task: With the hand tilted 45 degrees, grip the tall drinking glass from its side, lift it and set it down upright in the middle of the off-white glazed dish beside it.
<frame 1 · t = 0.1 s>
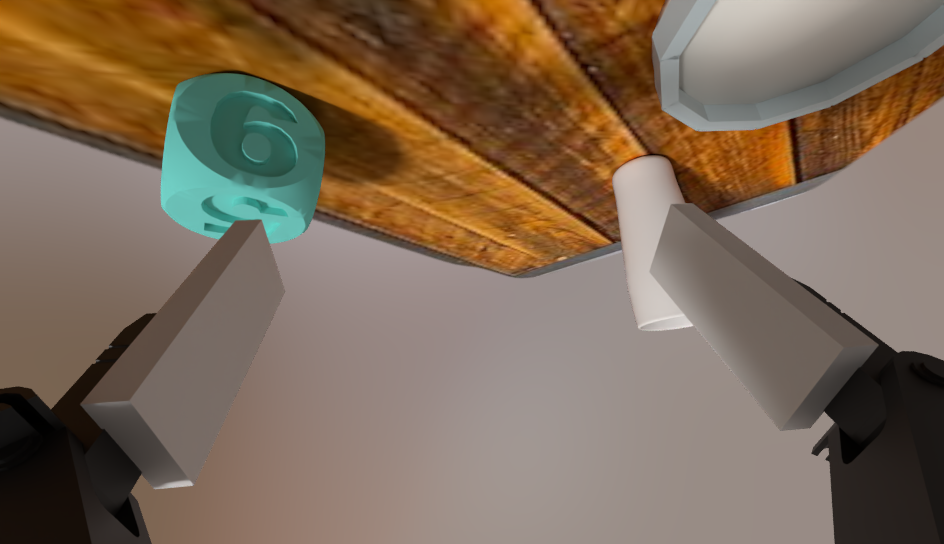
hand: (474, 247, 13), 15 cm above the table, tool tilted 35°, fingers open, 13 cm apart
drinking glass: (639, 167, 38), on the table
decorative dice: (253, 114, 28), on the table
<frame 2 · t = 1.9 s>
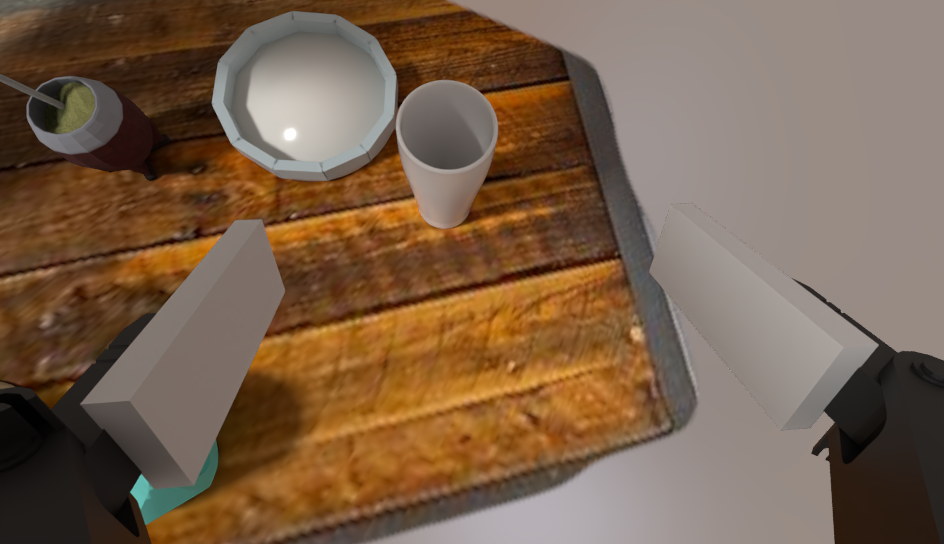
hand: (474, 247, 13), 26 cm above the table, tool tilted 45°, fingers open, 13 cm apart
dish: (314, 104, 41), on the table
drinking glass: (444, 205, 40), on the table
decorative dice: (170, 453, 34), on the table
mate gourd: (135, 155, 39), on the table
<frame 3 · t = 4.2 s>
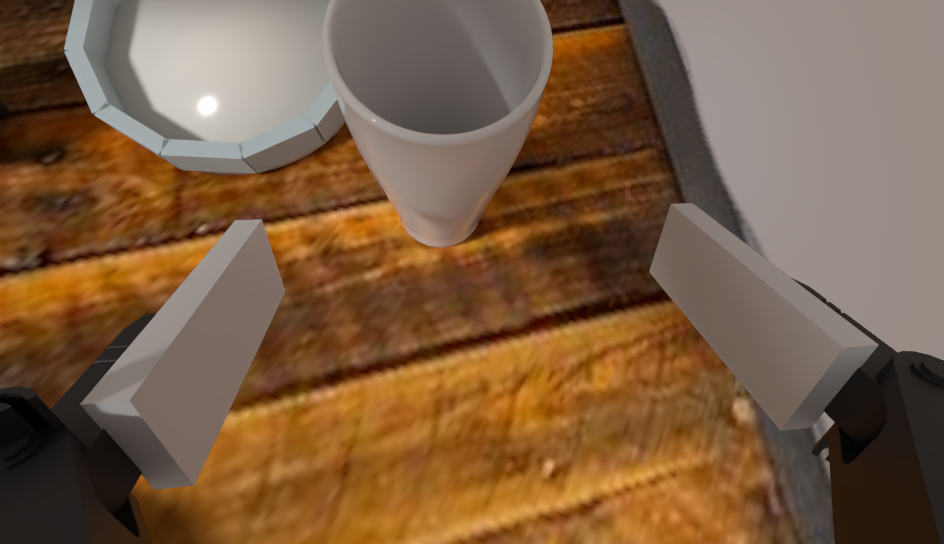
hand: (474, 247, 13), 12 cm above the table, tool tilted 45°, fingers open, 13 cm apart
dish: (240, 56, 27), on the table
drinking glass: (440, 211, 26), on the table
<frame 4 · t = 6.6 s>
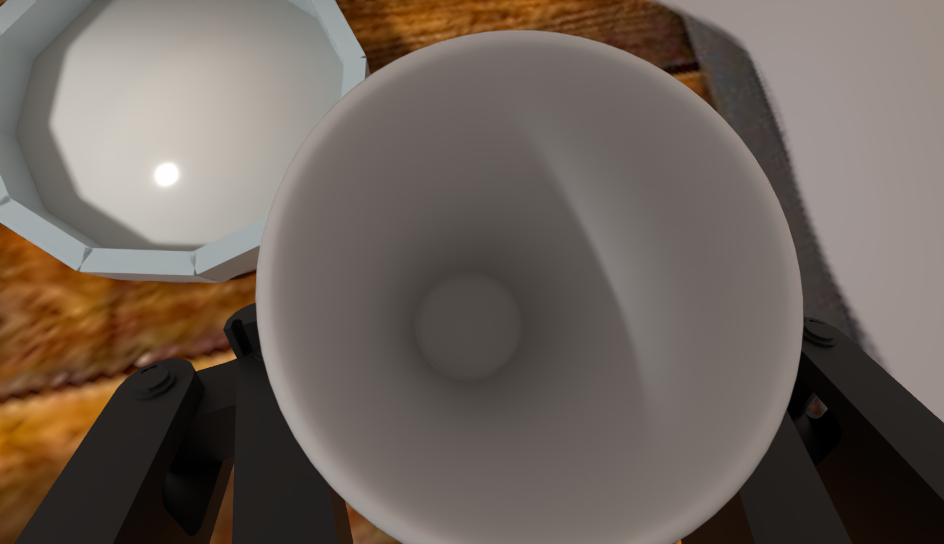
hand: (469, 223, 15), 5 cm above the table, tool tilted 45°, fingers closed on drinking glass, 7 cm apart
dish: (203, 118, 20), on the table
drinking glass: (466, 327, 20), on the table, touching gripper
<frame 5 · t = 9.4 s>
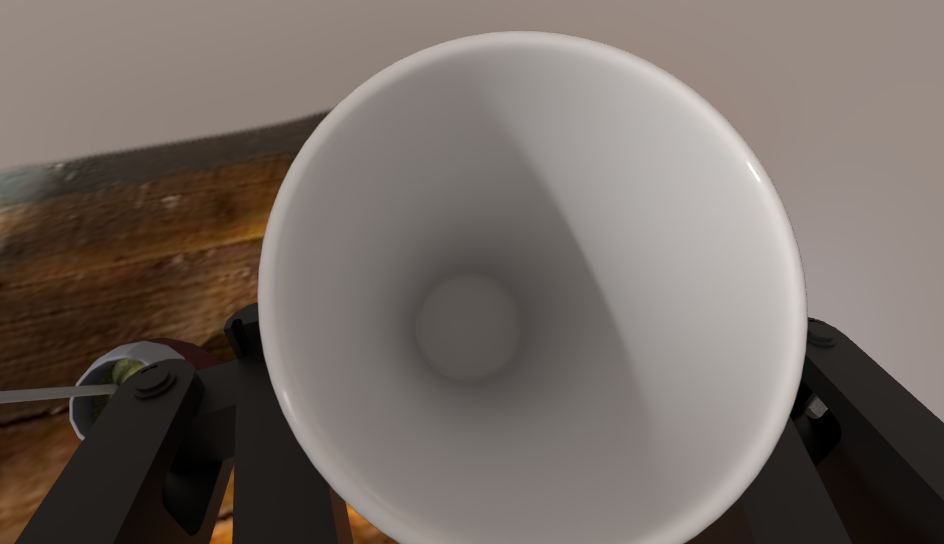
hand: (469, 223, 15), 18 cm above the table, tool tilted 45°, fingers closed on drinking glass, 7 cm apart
drinking glass: (466, 327, 19), point 13 cm above the table, touching gripper
mate gourd: (198, 387, 30), on the table
when the fingers open (8 cm above the table, at t = 12.1 s): drinking glass drops 1 cm, resting on dish.
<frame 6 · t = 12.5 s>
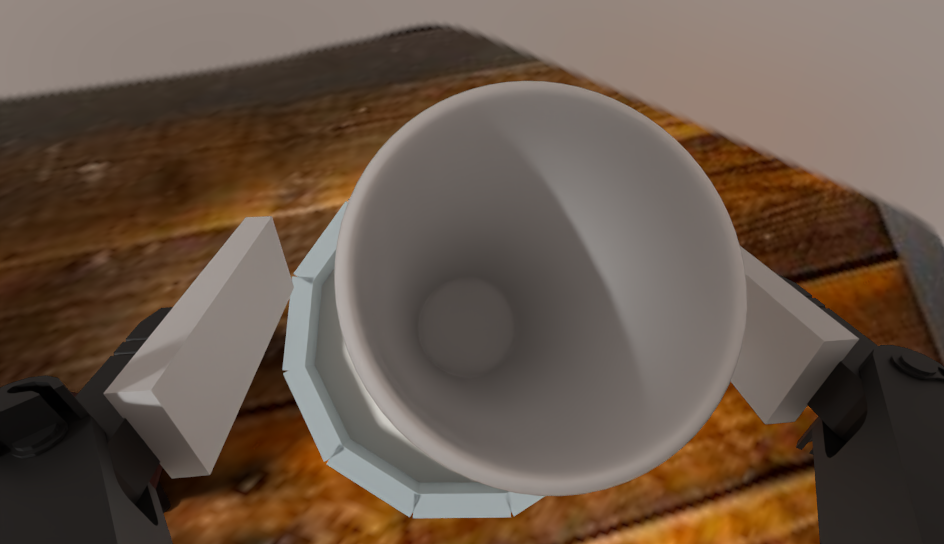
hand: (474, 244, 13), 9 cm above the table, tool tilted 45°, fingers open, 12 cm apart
dish: (463, 328, 22), on the table
drinking glass: (464, 328, 21), point 1 cm above the table, touching dish
mate gourd: (127, 455, 20), on the table
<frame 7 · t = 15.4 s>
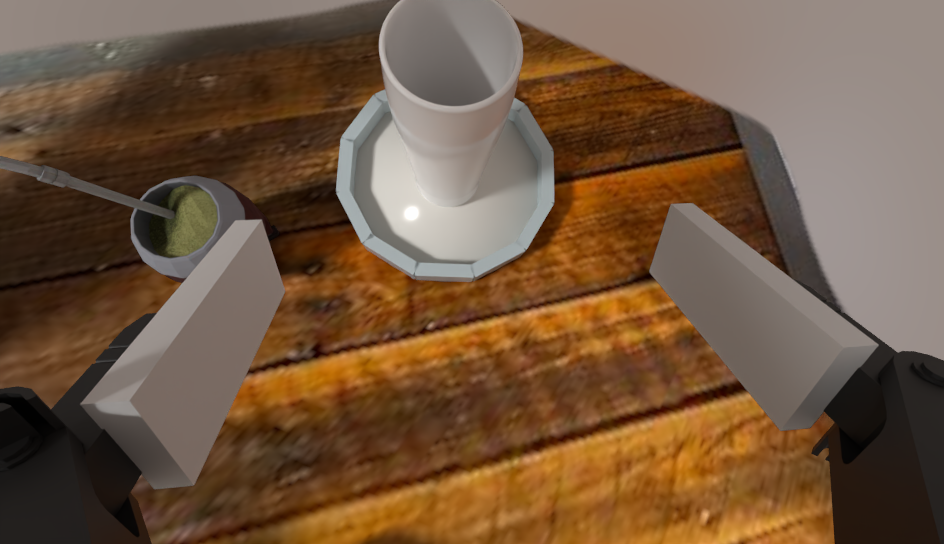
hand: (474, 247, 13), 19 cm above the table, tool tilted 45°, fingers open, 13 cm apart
dish: (447, 183, 34), on the table
drinking glass: (447, 179, 33), point 1 cm above the table, touching dish
mate gourd: (237, 251, 31), on the table
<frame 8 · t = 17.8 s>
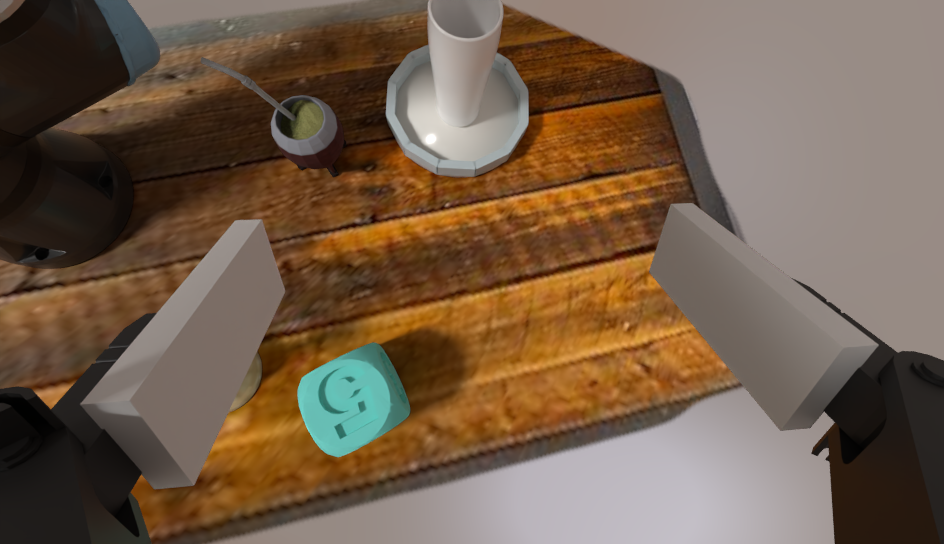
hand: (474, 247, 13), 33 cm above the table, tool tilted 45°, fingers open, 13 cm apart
dish: (457, 114, 50), on the table
drinking glass: (457, 110, 49), point 1 cm above the table, touching dish
hand bell: (223, 373, 42), on the table
decorative dice: (364, 391, 43), on the table
mate gourd: (319, 156, 48), on the table
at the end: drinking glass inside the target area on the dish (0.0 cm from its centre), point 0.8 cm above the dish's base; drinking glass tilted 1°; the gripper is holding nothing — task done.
